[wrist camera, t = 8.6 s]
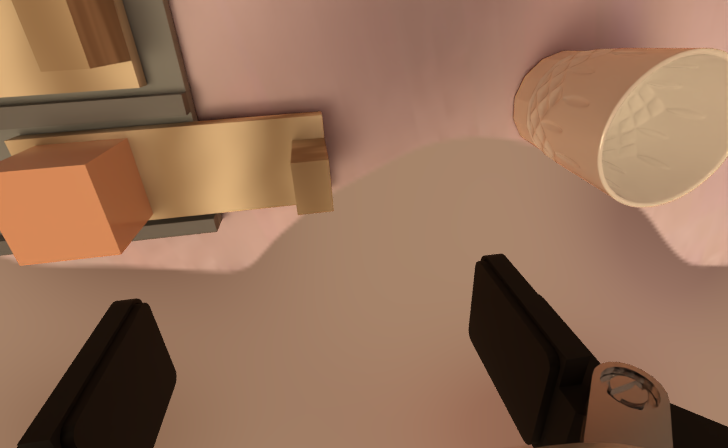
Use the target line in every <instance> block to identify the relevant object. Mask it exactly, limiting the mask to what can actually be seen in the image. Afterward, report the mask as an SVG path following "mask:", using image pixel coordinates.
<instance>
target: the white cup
mask: <svg viewBox="0 0 728 448" xmlns="http://www.w3.org/2000/svg"><path fill="white" fill-rule="evenodd" d="M513 120H514V122H515V124H516V127H517V129H518V131H519V134H520V136H521V137H522V138H524V139H525V140H527V141H528V142H529V143H531V144H532V145H534V146H535V147H537V148H538V149H540V150H542V152H543V153H544V154H545V155H546V156H548V157H550V158H551V159H552V160H554V161H555V162H556V163H558V164H559V165H561V166H563V167H564V168H566V169H567V170H569V171H571V172H572V173H574V174H575V175H577V176H579V177H580V178H582V179H583V180H585V181H587V182H588V183H590V184H592V185H593V186H594V187H596V188H598V189H599V190H601V191H602V192H604V193H606V194H607V195H609V196H610V197H612V198H613V199H615V200H617V201H618V202H620V203H622V204H625V205H628V206H632V207H653V206H658V205H662V204H666V203H669V202H671V201H674V200H676V199H678V198H680V197H682V196H684V195H686V194H687V193H689V192H691V191H692V190H694V189H695V188H696V187H698V186H699V185H701V184H702V183H703V182H704V181H705V180H707V179H708V178H709V177H710V176H711V175H712V174H713V173H714V172H715V171H716V170H717V169H718V168H719V167H720V166H721V164H722V163H723V162H724V161H725V160H726V158H727V157H728V53H727V52H725V51H722V50H718V49H713V48H617V49H596V50H589V51H562V52H559V53H557V54H554V55H552V56H549V57H547V58H544V59H542V60H541V61H540V62H539V63H538V64H537V65H536V66H535V67H534V68H533V69H532V70H531V71H530V72H529V73H528V74H527V75H526V76H525V77H524V79H523V81H522V83H521V85H520V87H519V89H518V92H517V94H516V96H515V100H514V115H513Z"/></svg>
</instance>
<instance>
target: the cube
mask: <svg viewBox="0 0 728 448" xmlns="http://www.w3.org/2000/svg"><path fill="white" fill-rule="evenodd" d="M152 215H153V212H152V209H151V206H150V203H149V200H148V197H147V194H146V192H145V189H144V186H143V183H142V180H141V177H140V174H139V171H138V168H137V165H136V162H135V159H134V156H133V153H132V150H131V147H130V144H129V142H128V139H127V138H120V139H108V140H96V141H84V142H72V143H60V144H48V145H36V146H33V147H31V148H29V149H27V150H24V151H22V152H20V153H18V154H15V155H13V156H11V157H9V158H6V159H4V160H2V161H0V231H1V233H2V235H3V236H4V238H5V240H6V242H7V244H8V245H9V247H10V249H11V251H12V253H13V254H14V256H15V258H16V260H17V262H18V263H19V265H20V266H22V265H31V264H40V263H49V262H58V261H66V260H75V259H84V258H93V257H102V256H111V255H120V254H122V253H123V251H124V250H125V249H126V248H127V246H128V245H129V244H130V243H131V241H132V240H133V239H134V238H135V236H136V235H137V234H138V233H139V231H140V230H141V229H142V228H143V226H144V225H145V224H146V223H147V221H148V220H149V219H150V218H151V216H152Z"/></svg>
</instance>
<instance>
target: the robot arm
mask: <svg viewBox="0 0 728 448" xmlns="http://www.w3.org/2000/svg"><path fill="white" fill-rule="evenodd" d="M469 336H470V339H471V341H472V343H473V345H474V347H475V349H476V351H477V353H478V355H479V357H480V359H481V360H482V362H483V364H484V366H485V368H486V370H487V372H488V374H489V376H490V378H491V379H492V381H493V383H494V385H495V387H496V389H497V391H498V393H499V395H500V396H501V399H502V400H503V402H504V404H505V406H506V408H507V410H508V412H509V414H510V415H511V417H512V419H513V421H514V423H515V425H516V427H517V429H518V430H519V433H520V435H521V437H522V438H523V440H524V441H525V443H526V444H528V445H531V444H532V446H533V447H534V448H728V427H727V426H724V425H722V424H720V423H717V422H715V421H712V420H710V419H707V418H705V417H703V416H700V415H698V414H695V413H693V412H690V411H688V410H685V409H683V408H681V407H678V406H676V405H673V404H671V403H670V401H669V397H668V394H667V392H666V391H665V389H664V388H663V386H662V385H661V384H660V383H659V382H658V381H657V380H656V379H655V378H654V377H653V376H651V375H649V374H648V373H646V372H645V371H643V370H642V369H639V368H637V367H635V366H632V365H630V364H625V363H621V362H605V363H602V364H600V362H599V361H598V360H597V359H596V358H595V357H594V356H593V354H592V353H591V352H590V351H589V350H588V349H587V348H586V346H585V345H584V344H583V343H582V342H581V341H580V339H579V338H578V337H577V336H576V335H575V334H574V333H573V332H572V330H571V329H570V328H569V327H568V326H567V324H566V323H565V322H563V320H562V319H561V318H560V316H559V315H558V314H557V313H556V312H555V311H554V310H553V308H552V307H551V306H550V305H549V304H548V303H547V301H546V300H545V299H544V298H542V296H540V295H539V294H537V292H535V290H534V289H533V288H532V287H531V285H530V284H529V283H528V282H527V281H526V280H525V278H524V277H523V276H522V275H521V274H520V273H519V272H518V270H517V269H516V268H515V267H514V266H513V265H512V263H511V262H510V261H509V260H508V259H507V258H506V256H505V255H503V254H494V255H486V256H483V257H482V258H481V261H478V262H476V266H475V275H474V284H473V294H472V302H471V311H470V321H469ZM175 384H176V371H175V368H174V365H173V363H172V361H171V358H170V355H169V353H168V351H167V348H166V346H165V343H164V341H163V338H162V336H161V333H160V331H159V328H158V326H157V323H156V321H155V319H154V316H153V314H152V311H151V309H150V306H149V305H148V304H147V303H142V301H141V300H140V299H129V300H121V301H115V302H113V303H112V304H111V306H110V307H109V309H108V310H107V312H106V313H105V315H104V316H103V318H102V319H101V321H100V322H99V324H98V325H97V327H96V328H95V330H94V331H93V333H92V334H91V336H90V337H89V339H88V340H87V341H86V343H85V344H84V346H83V348H82V349H81V350H80V352H79V354H78V355H77V356H76V358H75V359H74V361H73V362H72V364H71V365H70V367H69V368H68V370H67V372H66V373H65V374H64V376H63V377H62V379H61V380H60V382H59V383H58V385H57V386H56V388H55V389H54V391H53V392H52V394H51V395H50V397H49V398H48V400H47V401H46V402H45V404H44V405H43V407H42V408H41V410H40V412H39V413H38V415H37V416H36V418H35V419H34V420H33V422H32V423H31V425H30V426H29V428H28V429H27V431H26V432H25V434H24V435H23V437H22V438H21V440H20V441H19V443H18V444H17V445H18V447H17V448H153V447H154V444H155V442H156V439H157V436H158V433H159V430H160V427H161V424H162V421H163V418H164V416H165V413H166V410H167V407H168V404H169V401H170V398H171V395H172V393H173V390H174V387H175Z"/></svg>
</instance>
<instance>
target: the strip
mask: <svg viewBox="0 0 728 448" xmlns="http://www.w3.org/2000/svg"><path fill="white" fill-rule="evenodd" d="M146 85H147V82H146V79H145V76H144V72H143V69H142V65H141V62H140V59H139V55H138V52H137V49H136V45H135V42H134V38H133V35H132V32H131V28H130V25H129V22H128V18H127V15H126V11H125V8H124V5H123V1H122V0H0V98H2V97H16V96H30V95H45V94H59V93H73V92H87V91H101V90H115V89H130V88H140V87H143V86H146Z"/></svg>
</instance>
